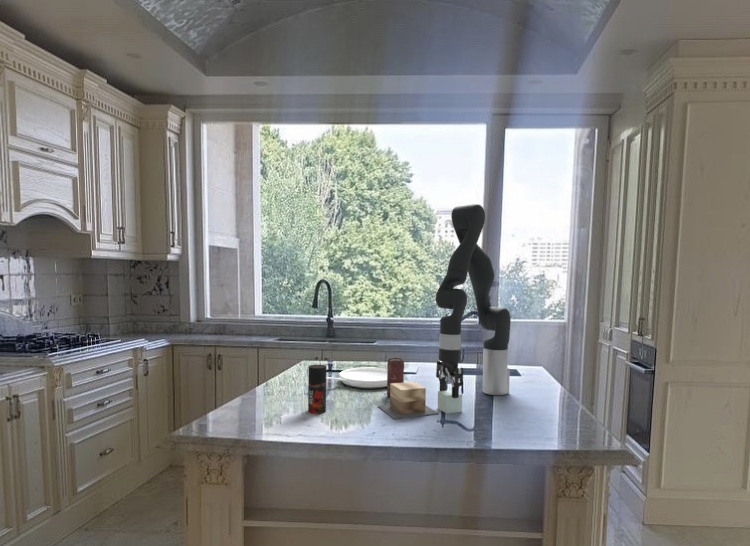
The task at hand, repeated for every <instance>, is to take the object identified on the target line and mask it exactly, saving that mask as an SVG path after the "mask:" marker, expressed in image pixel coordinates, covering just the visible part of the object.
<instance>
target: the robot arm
mask: <svg viewBox="0 0 750 546" xmlns="http://www.w3.org/2000/svg"><path fill="white" fill-rule="evenodd" d="M450 216H451V224H452V227H453V229H454V232H455V235H456V237H457V239H458V242H459V245H458V246H457V248H456V249H455V250H454V251H453V253H452V254H451V256H450V259H449V262H448V265H447V268H446V269H447V270H446V273H445V274H446V275H445V276H444V278H443V280H442V282H441V284H440V286H439V287H438V289H437V291H436V294H435V303H436V305H437V306H438V308H440V309H444V310H453V311H452V313H451V314H449V315H443V316H442V317H441V318H440V321H439V322H440V325H439V340H438V360H437V361H436V373H435V377H436V378H438V381H439V390H438V391H446V390H447V379H448V380H449V382H450V383H451V390H452V398H458V397H459V393H460V390H459V389H460V387H464V368H463V367H459V365H458V363H460V362H461V361H462V321H463V318H464V317H463V316H464V313H465V310H466V307H467V304H468V303H467V302H468V296H467V293H466V291H465V290H464V289H462V288H455V287H457V286H461V285H463V284H465V283H466V281H467V278H468V277H467V276H469V280H470V282H471V286H472V290H473V295H474V298H475V305H476V310H477V317H478V320H479V321H478V322H479V323H480V324H479V325H480V326H481V327H482V329H484V330H487V331H492V332H493V331H494V336H493V337H491V338H487V339H485V340H484V341H483V349H482V350H483V352H482V353H483V354H482V355H483V356H482V357H483V359H482V361H483V362H482V392H483V394H487V395H490V396H491V395H492V396H505V395H507V394H510V378H511V377H510V376H511V375H510V372H511V371H510V370H511V369H510V368H509V367H508V362H509V361H508V357H509V356H508V353H509V351H508V350H509V349H508V348H509V344H510V343H509V342H510V337H511V336H510V334H511V324H512V323H511V320H512V319H511V313H510V311H509V310H508V309H507V308H505V307H499V306H493V305H492V304H491V299H490V292H491V288H492V286H493V284H494V280H495V271H494V268H493V264H492V260H491V258H490V256H489V255H488V253H486V252H485V251H484V250H483V248H481V246H479V244H478V242H479V240H480V239H479V238H480V236H481V235H482V231H483V229H484V225H485V221H486V211H485V209H484V207H483V206H482V205H481V204H479V203H478V204H477V203H474V204H464V205H459V206H458V205H457V206H455V207H453V208H452V210H451V215H450Z"/></svg>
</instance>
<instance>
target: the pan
mask: <svg viewBox="0 0 750 546" xmlns="http://www.w3.org/2000/svg"><path fill="white" fill-rule="evenodd" d="M338 376H339V377H331V376H326V380H334V381H335V380H336V381H341V382H342V383H343V384H344V385H346V386H347V387H351V388H357V389H365V390H366V389H367V390H368V389H369V390H370V389H384V388H387V368H384V367H374V366H373V367H370V366H369V367H366V366H365V367H364V366H363V367H352V368H347V369H344V370H341V372H339V373H338Z"/></svg>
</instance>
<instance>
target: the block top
mask: <svg viewBox="0 0 750 546" xmlns="http://www.w3.org/2000/svg"><path fill="white" fill-rule="evenodd" d="M426 390H427V389H426V387H424V386H423V385H421V384H419V383H417V382H416V381H404V383H391V384H390V395H391V396H392V397H394V398H395V399H397V400H398V401H399V402H410V401H420V400H426V401H427V399H426V397H427V395H426V392H427V391H426Z"/></svg>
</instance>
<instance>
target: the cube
mask: <svg viewBox="0 0 750 546" xmlns="http://www.w3.org/2000/svg"><path fill="white" fill-rule="evenodd" d="M437 409H438V410H440V411H441V412H443V413H444V414H454V413H455V414H456V413H462V412H463V394H462V393H460V392H459V397H458V398H452V389H446V391H439V390H438V391H437Z"/></svg>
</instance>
